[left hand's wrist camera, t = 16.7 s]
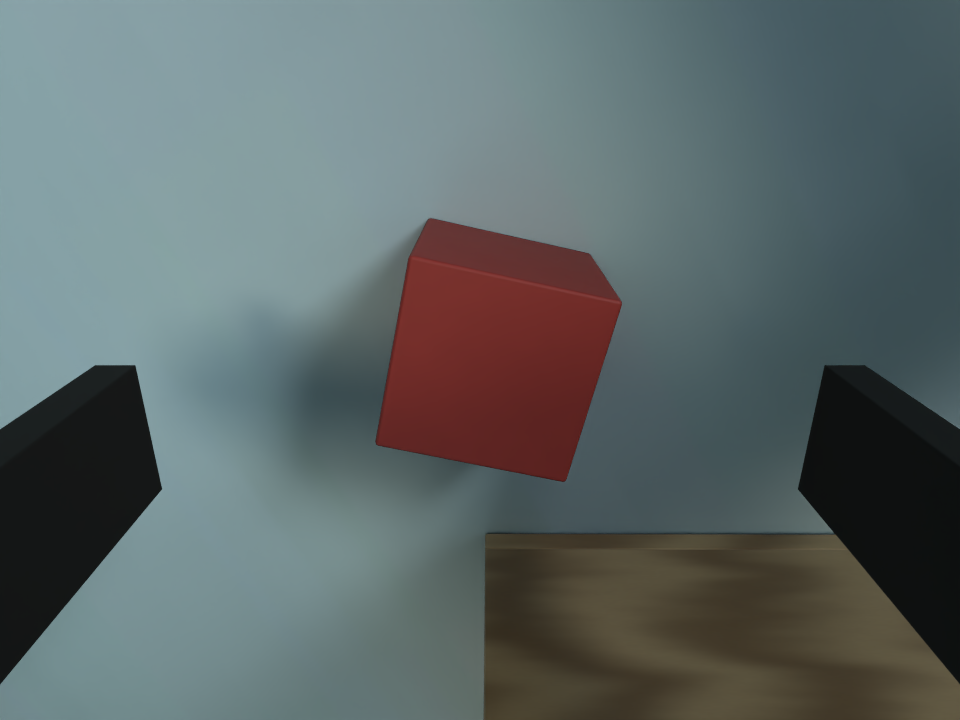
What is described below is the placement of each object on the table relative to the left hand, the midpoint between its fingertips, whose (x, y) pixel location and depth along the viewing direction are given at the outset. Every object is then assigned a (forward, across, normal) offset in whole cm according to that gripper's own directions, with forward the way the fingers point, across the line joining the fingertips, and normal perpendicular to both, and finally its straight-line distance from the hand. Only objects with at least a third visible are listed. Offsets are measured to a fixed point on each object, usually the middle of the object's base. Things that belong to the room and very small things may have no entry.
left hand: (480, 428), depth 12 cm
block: (+7, 0, 0) cm, 7 cm away
